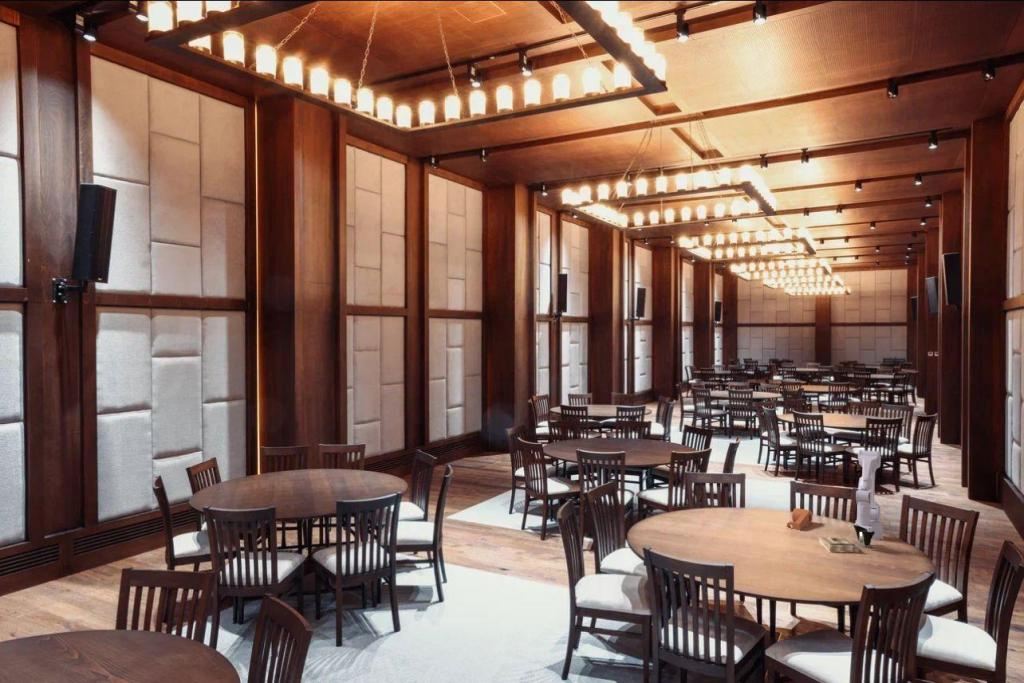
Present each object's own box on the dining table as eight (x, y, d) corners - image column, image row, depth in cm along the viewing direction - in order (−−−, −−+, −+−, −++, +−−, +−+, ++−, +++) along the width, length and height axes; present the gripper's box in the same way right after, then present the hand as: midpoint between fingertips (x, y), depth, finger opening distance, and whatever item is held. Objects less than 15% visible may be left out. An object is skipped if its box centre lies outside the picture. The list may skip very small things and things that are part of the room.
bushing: (866, 545, 335) (866, 531, 335) (869, 548, 331) (869, 533, 331) (857, 545, 335) (857, 531, 335) (861, 547, 331) (861, 533, 331)
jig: (846, 543, 338) (846, 536, 338) (858, 552, 324) (858, 545, 324) (819, 543, 339) (819, 536, 339) (829, 552, 325) (829, 544, 325)
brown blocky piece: (797, 521, 381) (797, 506, 381) (812, 523, 375) (812, 509, 375) (784, 528, 366) (784, 513, 366) (799, 531, 360) (799, 516, 360)
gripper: (849, 510, 341) (849, 538, 341) (861, 518, 326) (861, 547, 326) (864, 511, 340) (864, 538, 340) (877, 518, 326) (877, 547, 326)
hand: (863, 542), depth 333 cm, fingers open, 7 cm apart
